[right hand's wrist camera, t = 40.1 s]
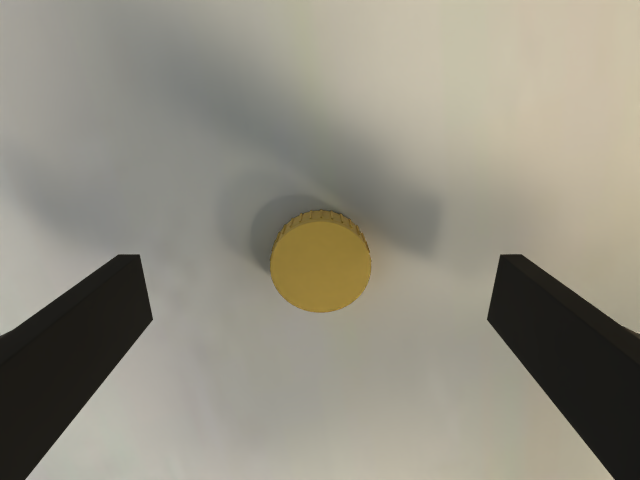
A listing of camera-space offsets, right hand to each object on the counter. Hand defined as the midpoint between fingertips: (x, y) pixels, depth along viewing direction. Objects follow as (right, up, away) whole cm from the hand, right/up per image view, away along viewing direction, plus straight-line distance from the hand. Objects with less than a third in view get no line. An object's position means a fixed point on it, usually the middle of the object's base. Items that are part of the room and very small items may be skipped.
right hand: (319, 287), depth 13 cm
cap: (0, +1, +1) cm, 2 cm away
